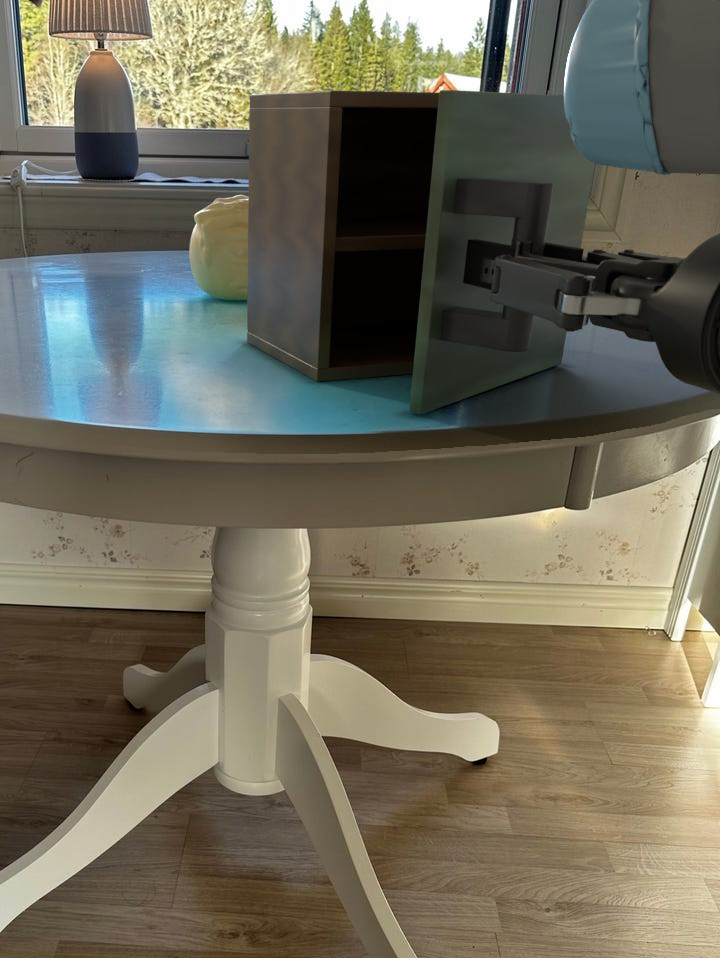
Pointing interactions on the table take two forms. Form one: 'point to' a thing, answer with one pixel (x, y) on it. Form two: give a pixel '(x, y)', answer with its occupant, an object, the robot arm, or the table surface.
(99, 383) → the table surface
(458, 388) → the cupboard door
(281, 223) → the cupboard
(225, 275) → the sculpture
